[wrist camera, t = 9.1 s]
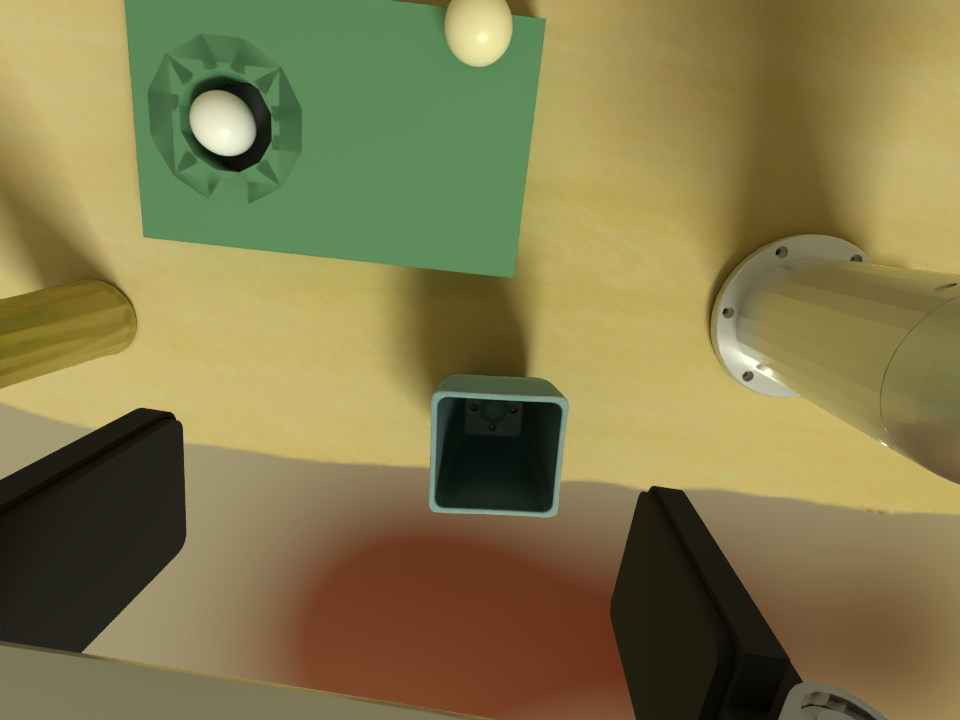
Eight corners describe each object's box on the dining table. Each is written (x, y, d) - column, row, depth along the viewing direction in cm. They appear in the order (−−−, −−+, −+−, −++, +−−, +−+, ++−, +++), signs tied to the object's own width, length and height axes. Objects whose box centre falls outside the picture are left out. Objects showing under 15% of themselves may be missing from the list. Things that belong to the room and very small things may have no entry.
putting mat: (541, 35, 34) (546, 18, 31) (511, 273, 38) (513, 278, 35) (153, -11, 33) (121, -32, 30) (169, 235, 38) (143, 237, 35)
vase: (80, 262, 38) (-144, 289, 25) (152, 310, 39) (-26, 362, 26) (48, 324, 40) (-182, 381, 26) (117, 368, 41) (-68, 447, 27)
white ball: (262, 101, 35) (245, 89, 31) (263, 161, 36) (247, 157, 33) (201, 92, 35) (176, 79, 31) (204, 154, 36) (180, 149, 32)
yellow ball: (514, 5, 31) (518, -25, 27) (507, 78, 32) (509, 59, 28) (450, -3, 31) (444, -33, 27) (444, 70, 32) (438, 51, 28)
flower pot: (552, 358, 40) (570, 397, 32) (543, 457, 43) (557, 519, 34) (443, 352, 40) (431, 390, 32) (440, 452, 43) (428, 512, 34)
